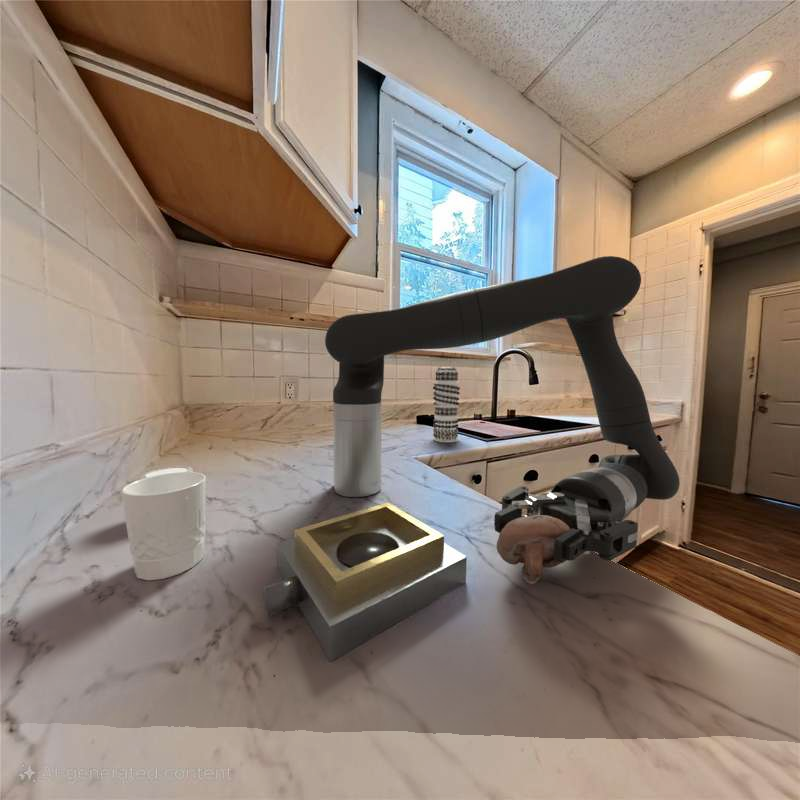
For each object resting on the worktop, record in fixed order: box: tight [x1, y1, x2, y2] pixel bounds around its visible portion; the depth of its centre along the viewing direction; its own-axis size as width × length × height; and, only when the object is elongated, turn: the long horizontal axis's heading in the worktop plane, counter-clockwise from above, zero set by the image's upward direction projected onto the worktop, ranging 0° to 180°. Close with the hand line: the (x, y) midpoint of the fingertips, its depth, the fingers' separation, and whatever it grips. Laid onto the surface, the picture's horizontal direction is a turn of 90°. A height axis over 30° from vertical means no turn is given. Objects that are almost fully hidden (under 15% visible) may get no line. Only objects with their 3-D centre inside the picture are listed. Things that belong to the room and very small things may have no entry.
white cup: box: [121, 471, 207, 581], centre depth 37 cm, size 8×8×10 cm
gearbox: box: [262, 502, 468, 663], centre depth 35 cm, size 17×19×5 cm
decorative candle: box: [432, 366, 461, 443], centre depth 107 cm, size 9×9×25 cm
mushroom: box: [495, 514, 570, 585], centre depth 34 cm, size 8×6×8 cm
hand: (525, 536), depth 32 cm, fingers closed on mushroom, 6 cm apart
